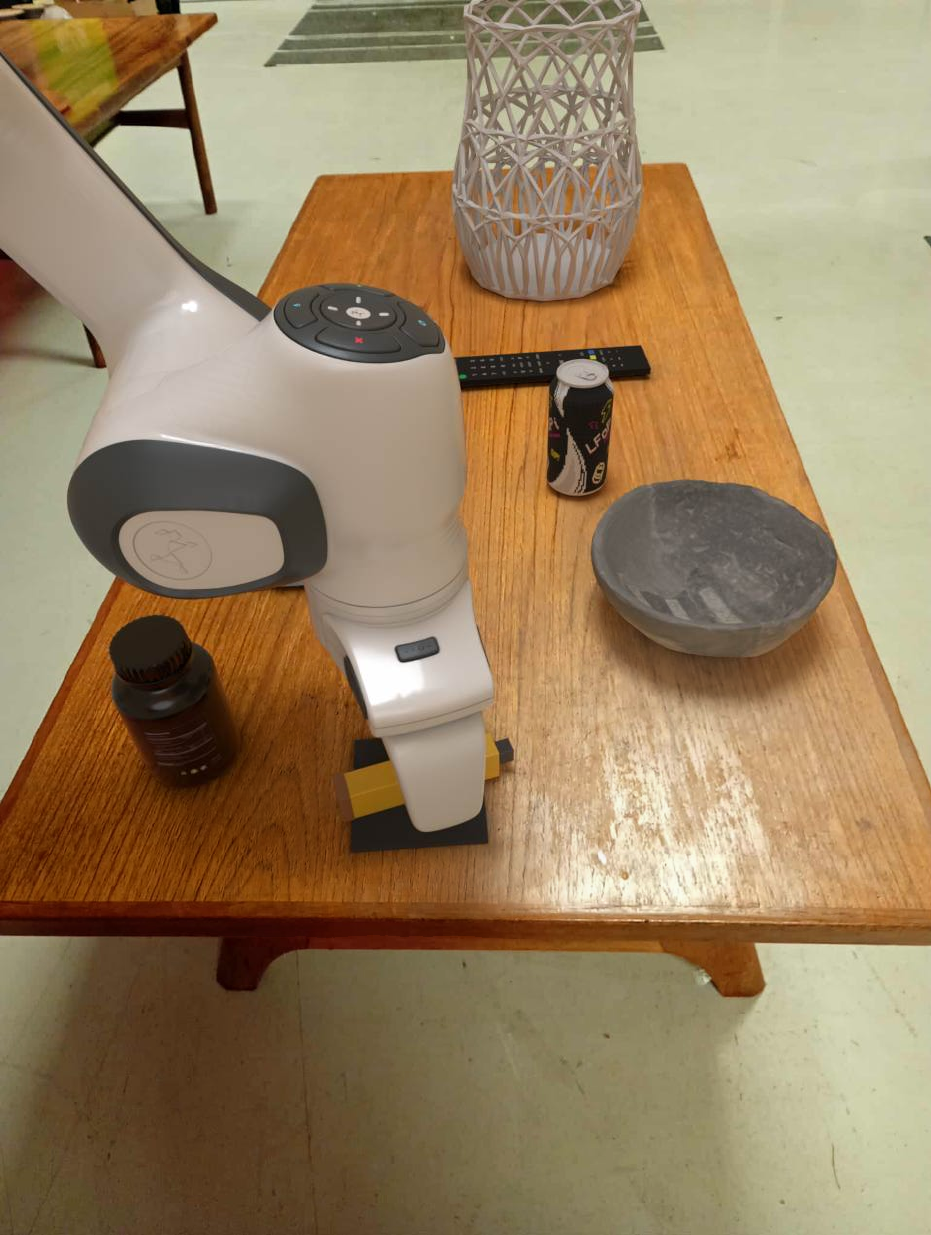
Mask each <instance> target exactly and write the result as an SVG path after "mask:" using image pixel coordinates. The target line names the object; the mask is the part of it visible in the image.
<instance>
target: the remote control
mask: <svg viewBox="0 0 931 1235" xmlns="http://www.w3.org/2000/svg"><path fill="white" fill-rule="evenodd" d="M453 357H454V360H455V363H456V367H457V372H458V376H459V382H460V387H461V388H462V387H474V386H476V387H477V386H491V385H505V384H521V383H536V382H537V383H538V382H549V381H550V382H551V381H552V380H553V379H554V378H555V376H556V375H557V369H558V367H559V366H560V365H562V364H563V363H565V362H567V361H571V360H577V359H587V360H593V361H597V362H599V363H601V364H603V365H604V366H606V368H607V369H608V371H609V376H608V377H609V378H611V377H625V376H627V377H628V376H640V375H641V376H642V375H651V369H652V368H651V365H650V363H649V361H648V358H647V355H646V353H645V351H644V349H643V347H642V345H641V344H639V345H623V346H622V345H621V346H607V347H591V348H590V347H589V348H578V349H577V348H576V349H561V350H547V351H531V352H517V353H516V352H515V353H502V354H501V353H499V354H485V355H484V354H483V355H471V356H470V355H469V356H456V357H455V356H453Z"/></svg>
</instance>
